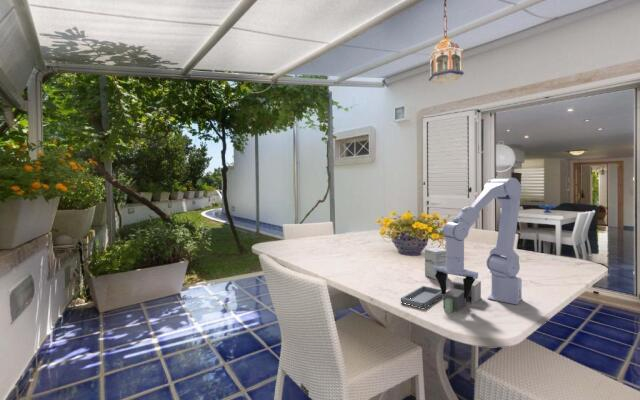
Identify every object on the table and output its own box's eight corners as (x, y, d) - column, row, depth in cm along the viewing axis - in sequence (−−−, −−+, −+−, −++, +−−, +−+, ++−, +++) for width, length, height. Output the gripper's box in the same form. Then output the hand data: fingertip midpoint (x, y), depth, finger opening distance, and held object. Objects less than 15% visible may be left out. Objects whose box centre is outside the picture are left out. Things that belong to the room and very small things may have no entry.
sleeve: (474, 303, 118) (474, 285, 117) (450, 298, 123) (450, 281, 123) (480, 297, 123) (480, 281, 122) (457, 293, 128) (457, 277, 128)
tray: (444, 295, 126) (444, 290, 126) (423, 309, 113) (423, 303, 113) (422, 290, 132) (422, 285, 132) (400, 303, 119) (400, 297, 119)
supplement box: (424, 275, 153) (424, 248, 152) (437, 273, 155) (437, 247, 155) (435, 280, 146) (435, 251, 145) (448, 278, 148) (448, 250, 148)
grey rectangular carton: (454, 314, 109) (454, 299, 108) (440, 310, 112) (440, 296, 111) (465, 304, 116) (465, 290, 116) (452, 301, 119) (452, 288, 119)
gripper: (429, 256, 116) (429, 294, 117) (473, 262, 106) (472, 303, 107) (438, 252, 121) (438, 289, 122) (480, 258, 112) (479, 297, 112)
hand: (454, 295), depth 115 cm, fingers open, 7 cm apart
